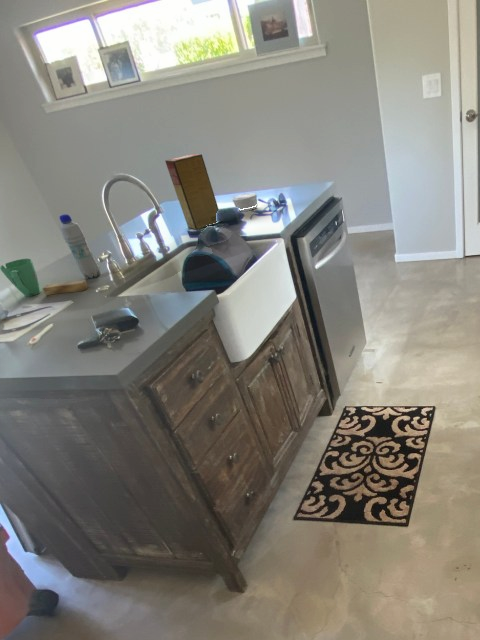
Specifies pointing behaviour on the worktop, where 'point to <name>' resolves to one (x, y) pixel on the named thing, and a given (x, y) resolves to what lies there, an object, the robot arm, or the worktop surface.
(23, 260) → the mug
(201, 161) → the food packaging
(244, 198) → the ramekin
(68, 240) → the bottle
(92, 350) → the worktop surface
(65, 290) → the stick
